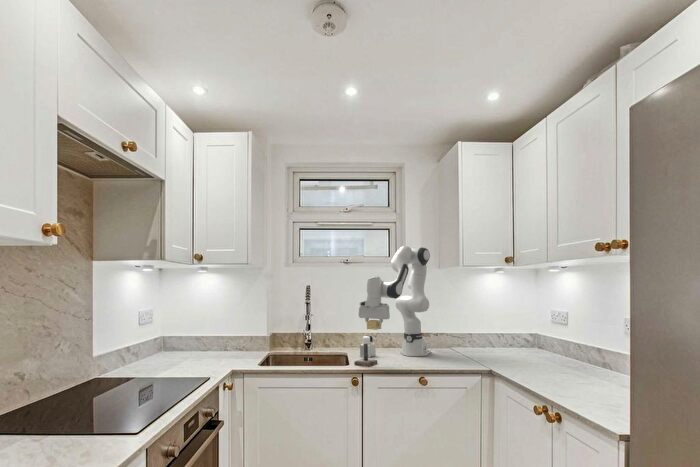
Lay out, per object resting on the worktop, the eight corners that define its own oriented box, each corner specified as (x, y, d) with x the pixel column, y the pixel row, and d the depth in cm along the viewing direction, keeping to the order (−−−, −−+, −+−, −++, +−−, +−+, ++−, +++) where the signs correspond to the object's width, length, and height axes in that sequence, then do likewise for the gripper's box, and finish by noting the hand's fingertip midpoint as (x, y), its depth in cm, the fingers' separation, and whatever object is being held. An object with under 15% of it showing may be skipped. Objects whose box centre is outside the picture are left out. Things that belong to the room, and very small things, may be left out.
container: (365, 354, 275) (365, 334, 276) (375, 355, 271) (375, 335, 272) (359, 356, 268) (359, 336, 270) (370, 357, 264) (369, 337, 266)
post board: (363, 361, 252) (362, 341, 253) (377, 363, 246) (376, 343, 247) (354, 364, 243) (354, 344, 245) (368, 366, 238) (368, 345, 239)
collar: (372, 328, 252) (372, 319, 252) (381, 328, 248) (381, 320, 249) (366, 329, 246) (366, 320, 247) (376, 329, 243) (376, 321, 243)
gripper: (391, 303, 246) (391, 326, 245) (362, 302, 257) (362, 324, 256) (386, 303, 241) (386, 327, 239) (357, 302, 252) (357, 325, 250)
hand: (374, 326), depth 248 cm, fingers closed on collar, 6 cm apart
